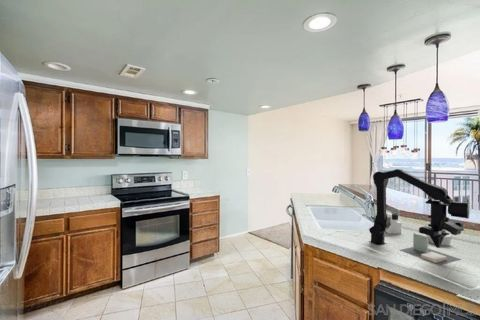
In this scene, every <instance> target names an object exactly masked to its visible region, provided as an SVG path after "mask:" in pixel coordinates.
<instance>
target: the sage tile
mask: <svg viewBox="0 0 480 320" xmlns="http://www.w3.org/2000/svg"><path fill="white" fill-rule="evenodd" d="M412 235H413V241H412V243H413V245H412V247H413V249H416V250H419V251H422V252H425V253H428V249H429V241H428V236H426V234H422V233H419V232H413V234H412Z"/></svg>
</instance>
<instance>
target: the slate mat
mask: <svg viewBox="0 0 480 320" xmlns="http://www.w3.org/2000/svg"><path fill="white" fill-rule="evenodd" d="M399 251H400V252H403V253H405V254H407V255H408V254H409V255H411V256H414V257H416V258H419V259H422V260H425V261H427V262H430V263H432V264H435V265H439V266H442V265H443V266H444V265H446V264H450V263H452V262H453V263H454V262H457V261H461V260H462V259H461V258H458V257H457V256H456V257H455V256H452V255H449V254H446V253H443V252H440V251H438V250H434V249H432V248H428V253H429V252H434V253H437V254H440V255H443V256H446V257H447V260H445V261H442V262H438V263H434V262H431V261H429V260H426V259H423V258H421V254H425V252H422V251H419V250H416V249H413V246H410V247H406V248H402V249H399Z"/></svg>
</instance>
